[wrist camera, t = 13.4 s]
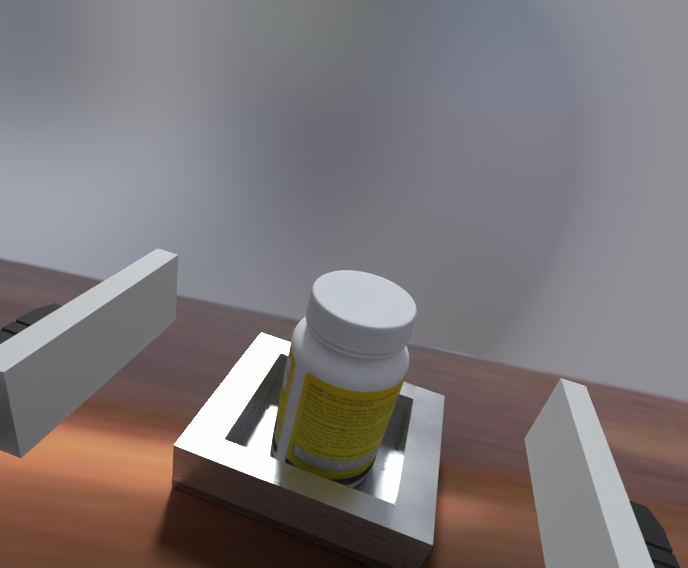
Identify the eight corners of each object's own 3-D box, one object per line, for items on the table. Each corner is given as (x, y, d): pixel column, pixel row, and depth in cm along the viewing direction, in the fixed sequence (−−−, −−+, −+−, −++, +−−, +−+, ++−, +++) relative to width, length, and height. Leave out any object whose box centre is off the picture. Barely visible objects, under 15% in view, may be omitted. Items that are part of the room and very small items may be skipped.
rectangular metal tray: (172, 487, 18) (174, 445, 17) (255, 368, 25) (261, 332, 24) (412, 582, 17) (432, 545, 15) (429, 430, 24) (444, 395, 22)
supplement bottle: (392, 471, 20) (455, 321, 16) (304, 516, 17) (352, 350, 13) (335, 399, 23) (375, 259, 19) (252, 428, 21) (278, 271, 17)
